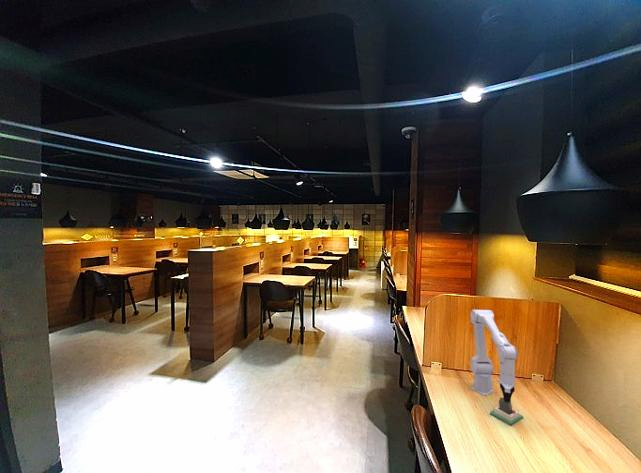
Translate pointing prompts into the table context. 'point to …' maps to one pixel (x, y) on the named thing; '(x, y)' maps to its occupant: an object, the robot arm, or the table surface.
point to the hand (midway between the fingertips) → (506, 401)
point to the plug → (506, 406)
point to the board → (506, 419)
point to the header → (505, 415)
